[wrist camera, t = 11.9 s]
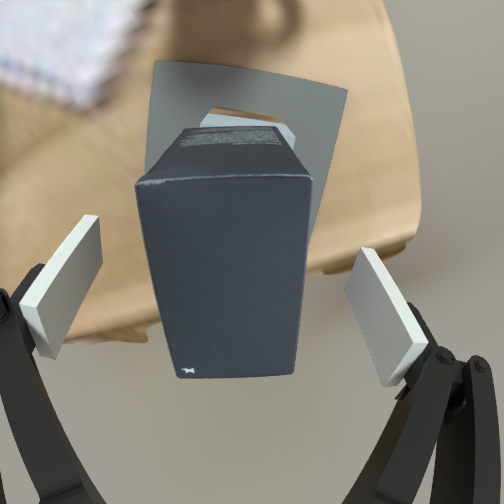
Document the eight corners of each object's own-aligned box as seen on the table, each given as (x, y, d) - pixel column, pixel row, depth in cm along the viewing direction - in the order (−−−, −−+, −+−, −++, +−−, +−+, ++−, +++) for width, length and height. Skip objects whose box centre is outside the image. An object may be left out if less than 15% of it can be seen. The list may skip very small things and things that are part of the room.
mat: (144, 230, 34) (143, 231, 34) (155, 60, 25) (154, 60, 24) (305, 250, 36) (306, 252, 36) (346, 89, 27) (347, 89, 26)
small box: (279, 265, 24) (298, 380, 16) (193, 268, 24) (172, 382, 15) (283, 123, 19) (324, 176, 10) (178, 127, 19) (123, 183, 10)
